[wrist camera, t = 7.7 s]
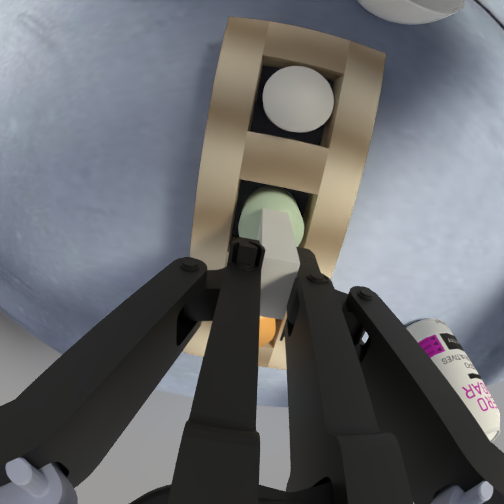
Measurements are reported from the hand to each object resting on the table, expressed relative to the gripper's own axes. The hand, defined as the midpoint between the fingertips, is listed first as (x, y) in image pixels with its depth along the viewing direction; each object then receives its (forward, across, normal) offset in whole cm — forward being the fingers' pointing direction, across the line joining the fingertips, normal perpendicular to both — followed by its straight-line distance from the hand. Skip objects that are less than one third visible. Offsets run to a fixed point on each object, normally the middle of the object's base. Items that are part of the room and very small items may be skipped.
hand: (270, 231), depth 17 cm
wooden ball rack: (+4, 0, 0) cm, 4 cm away
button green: (+4, 0, 0) cm, 4 cm away
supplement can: (+5, +19, -11) cm, 22 cm away
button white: (+4, 0, +8) cm, 9 cm away
